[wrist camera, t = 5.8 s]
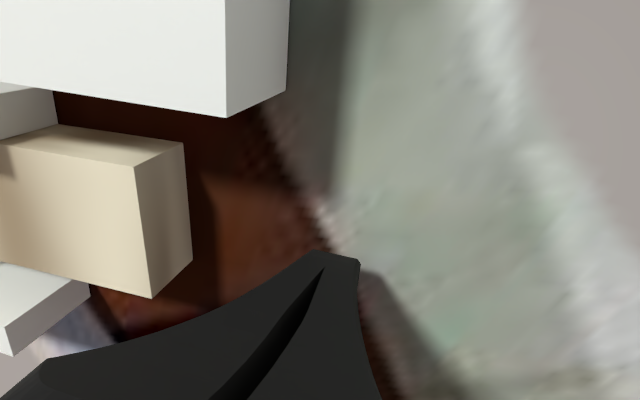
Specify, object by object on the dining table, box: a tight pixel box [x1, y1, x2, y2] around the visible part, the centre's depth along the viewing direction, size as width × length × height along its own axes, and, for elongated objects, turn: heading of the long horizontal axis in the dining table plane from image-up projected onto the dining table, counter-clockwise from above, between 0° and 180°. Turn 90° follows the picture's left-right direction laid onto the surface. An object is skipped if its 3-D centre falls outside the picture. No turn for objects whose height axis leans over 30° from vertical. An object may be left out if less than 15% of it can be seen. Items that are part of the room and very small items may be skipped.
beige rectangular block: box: [0, 124, 193, 299], centre depth 13 cm, size 8×4×2 cm, turn 86°
